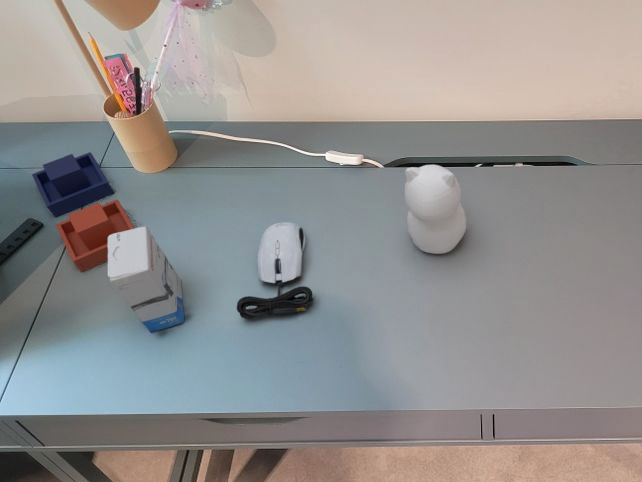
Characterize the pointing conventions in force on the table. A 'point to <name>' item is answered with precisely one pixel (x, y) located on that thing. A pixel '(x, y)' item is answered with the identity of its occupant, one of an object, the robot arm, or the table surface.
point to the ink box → (145, 278)
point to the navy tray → (76, 199)
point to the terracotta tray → (76, 245)
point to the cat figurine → (434, 208)
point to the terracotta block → (92, 226)
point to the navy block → (67, 175)
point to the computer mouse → (279, 271)
